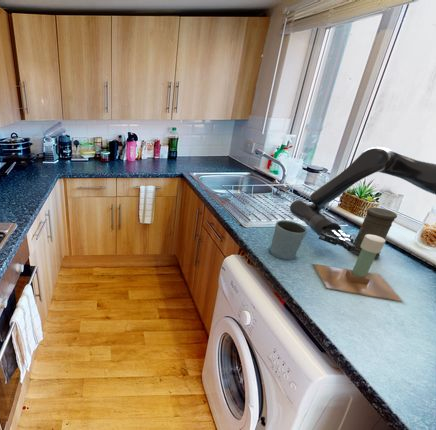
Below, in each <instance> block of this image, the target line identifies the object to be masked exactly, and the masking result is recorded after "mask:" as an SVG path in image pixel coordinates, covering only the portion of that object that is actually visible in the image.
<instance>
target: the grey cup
mask: <svg viewBox="0 0 436 430" xmlns="http://www.w3.org/2000/svg"><path fill="white" fill-rule="evenodd" d="M273 231H274V232H273V235H272V239H271V243H270V248H269V252H270V253H271V255H273V256H274V257H276V258H279V259H283V260H294V259H295V257H296V255H297V253H298V251H299V249H300V247H301V245H302V243H303V240H304V238H305V236H306V234H307V233H308V229H307V228H306V226H304V225H302V224H300V223H298V222H294V221H293V220H292V221H291V220H284V219H283V220H278V221H276V223H275V226H274V230H273Z"/></svg>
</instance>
